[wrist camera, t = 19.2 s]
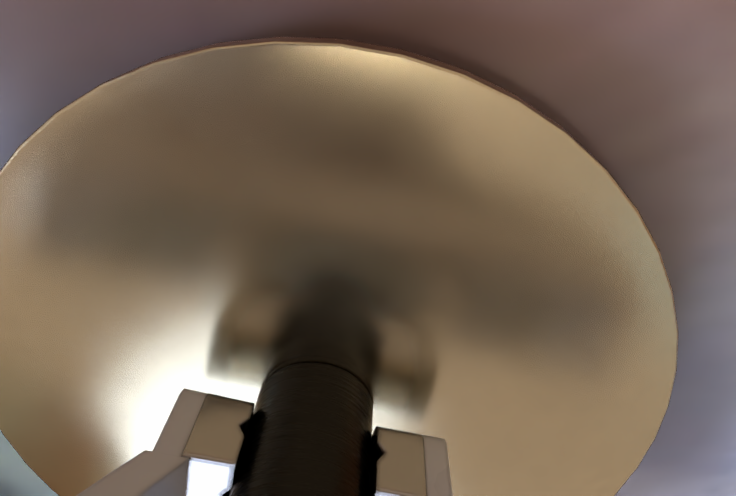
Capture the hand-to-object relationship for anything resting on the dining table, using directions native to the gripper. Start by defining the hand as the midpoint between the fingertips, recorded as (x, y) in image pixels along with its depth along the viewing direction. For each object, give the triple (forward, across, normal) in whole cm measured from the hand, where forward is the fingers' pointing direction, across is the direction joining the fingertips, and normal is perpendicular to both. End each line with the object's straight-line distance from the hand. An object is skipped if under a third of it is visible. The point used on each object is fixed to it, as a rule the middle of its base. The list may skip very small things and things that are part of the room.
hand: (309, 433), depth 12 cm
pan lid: (+1, 0, 0) cm, 1 cm away
